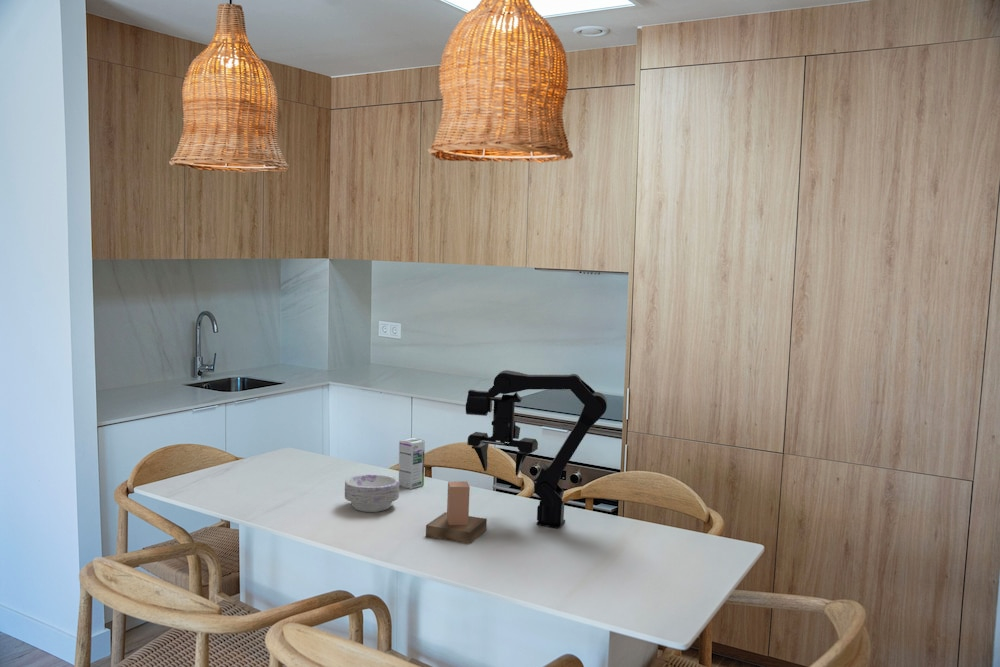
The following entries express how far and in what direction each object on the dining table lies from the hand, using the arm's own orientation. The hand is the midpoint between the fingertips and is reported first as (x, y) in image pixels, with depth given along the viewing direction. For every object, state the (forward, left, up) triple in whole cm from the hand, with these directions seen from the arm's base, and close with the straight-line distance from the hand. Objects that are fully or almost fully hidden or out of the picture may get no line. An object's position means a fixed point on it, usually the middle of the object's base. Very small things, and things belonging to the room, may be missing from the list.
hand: (501, 473), depth 224 cm
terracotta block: (+6, +16, -10) cm, 20 cm away
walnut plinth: (+6, +16, -13) cm, 21 cm away
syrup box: (+36, -18, -13) cm, 42 cm away
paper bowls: (+36, +7, -13) cm, 39 cm away
